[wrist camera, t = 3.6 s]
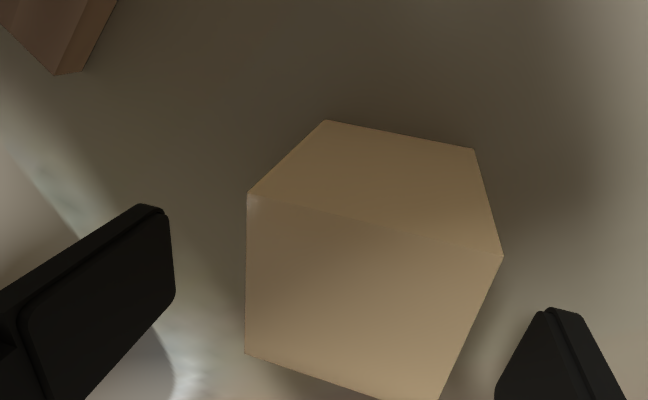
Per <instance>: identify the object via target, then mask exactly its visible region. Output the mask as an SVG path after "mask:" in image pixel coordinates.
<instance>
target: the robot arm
mask: <svg viewBox="0 0 648 400" xmlns="http://www.w3.org/2000/svg"><path fill="white" fill-rule="evenodd" d="M175 293H176V287H175V277H174V267H173V257H172V246H171V236H170V226H169V219H168V217H167V216H166V215H165V213H164V211H163V210H162V209H161V208H158V207H154V206H150V205H146V204H142V203H139V204H137V205H135V206H133V207H132V208H130V209H128V210H127V211H125V212H124V213H122V214H120V215H119V216H117V217H116V218H114V219H113V220H111V221H109V222H108V223H106V224H105V225H103V226H102V227H100V228H98V229H97V230H95V231H94V232H92V233H90V234H89V235H87V236H86V237H84V238H83V239H81V240H79V241H78V242H77V243H75V244H73V245H72V246H70V247H68V248H67V249H65V250H64V251H62V252H61V253H59V254H57V255H56V256H54V257H53V258H51V259H49V260H48V261H46V262H45V263H43V264H42V265H40V266H38V267H37V268H35V269H34V270H32V271H30V272H29V273H27V274H26V275H24V276H23V277H21V278H19V279H18V280H16V281H15V282H13V283H11V284H10V285H8V286H7V287H5V288H4V289H2V290H0V400H85V398H86V397H87V396H88V395H89V394H90V393H91V392H92V391H93V390H94V388H95V387H96V386H97V385H98V384H99V383H100V382H101V381H102V380H103V378H104V377H105V376H106V375H107V374H108V373H109V372H110V371H111V370H112V369H113V367H114V366H115V365H116V364H117V363H118V362H119V361H120V360H121V358H122V357H123V356H124V355H125V354H126V353H127V352H128V351H129V350H130V349H131V347H132V346H133V345H134V344H135V343H136V342H137V341H138V339H140V337H141V336H142V335H143V334H144V333H145V332H146V331H147V330H148V329H149V327H150V326H151V325H152V324H153V323H154V322H155V321H156V320H157V319H158V317H159V316H160V315H161V314H162V313H163V312H164V311H165V310H166V309H167V307H168V306H169V305H170V304H171V303H172V301H173V299H174V297H175ZM494 400H627V399H626V398H625V396H624V394H623V392H622V390H621V388H620V386H619V384H618V383H617V381H616V379H615V377H614V375H613V373H612V371H611V369H610V368H609V366H608V364H607V362H606V360H605V358H604V356H603V355H602V353H601V351H600V349H599V347H598V345H597V343H596V341H595V340H594V338H593V336H592V334H591V332H590V330H589V328H588V326H587V325H586V323H585V321H584V319H583V318H582V316H581V315H579V314H577V313H573V312H569V311H565V310H561V309H557V308H554V307H549V308H547V309H546V310H545V311H544V312H543V311H538V312H537V313H536V314H535V316H534V317H533V319H532V321H531V323H530V325H529V326H528V328H527V330H526V332H525V334H524V335H523V337H522V339H521V341H520V343H519V344H518V346H517V348H516V350H515V352H514V353H513V355H512V357H511V359H510V361H509V363H508V364H507V366H506V368H505V370H504V372H503V373H502V375H501V377H500V379H499V381H498V382H497V384H496V387H495V392H494Z"/></svg>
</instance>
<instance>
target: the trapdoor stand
mask: <svg viewBox="0 0 648 400" xmlns="http://www.w3.org/2000/svg"><path fill="white" fill-rule="evenodd" d="M116 2H117V0H0V24H1V25H2V26H3V27H4V28H5V29H7V30H8V31H9V32H10V33H11V34H12V35H13V36H14V37H15V38H16V39H17V40H18V41H19V42H20V43H21V44H22V45H23V46H24V47H25V48H26V49H27V50H28V51H29V52H30V53H31V54H32V55H33V56H34V57H35V58H36V59H37V60H38V61H39V62H40V63H41V64H42V65H43V66H44V67H45V68H46V69H47V70H48V71H49V72H50V73H51V74H52V75H53V76H56V75H62V74H68V73H74V72H81V71H82V69H83V67H84V65H85V63H86V61H87V59H88V57H89V55H90V53H91V52H92V50H93V48H94V46H95V44H96V42H97V40H98V38H99V36H100V34H101V32H102V30H103V28H104V26H105V24H106V22H107V20H108V18H109V16H110V14H111V12H112V10H113V8H114V6H115V4H116Z"/></svg>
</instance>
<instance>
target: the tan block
mask: <svg viewBox="0 0 648 400" xmlns="http://www.w3.org/2000/svg"><path fill="white" fill-rule="evenodd" d="M503 258H504V254H503V251H502V247H501V244H500V240H499V237H498V233H497V230H496V226H495V222H494V219H493V215H492V212H491V208H490V205H489V201H488V198H487V194H486V191H485V187H484V183H483V180H482V176H481V173H480V169H479V166H478V162H477V159H476V155H475V152H474V149H471V148H466V147H461V146H456V145H451V144H446V143H441V142H436V141H431V140H426V139H421V138H416V137H411V136H406V135H401V134H396V133H391V132H386V131H381V130H376V129H371V128H366V127H361V126H356V125H351V124H346V123H341V122H336V121H331V120H326V119H325V120H323V121H322V122H321V123H320V124H319V125H318V126H317V127H316V128H315V129H314V130H313V131H312V132H311V133H310V134H309V135H308V136H306V137H305V138H304V139H303V140H302V141H301V142H300V143H299V144H298V145H297V146H296V147H295V148H294V149H293V150H292V151H291V152H289V153H288V154H287V155H286V156H285V157H284V158H283V159H282V160H281V161H280V162H279V163H278V164H277V165H276V166H275V167H274V168H272V169H271V170H270V171H269V172H268V173H267V174H266V175H265V176H264V177H263V178H262V179H261V180H260V181H259V182H258V183H257V184H255V185H254V186H253V187H252V188H251V189H250V190H249V191H248V192H247V221H246V286H245V351H244V354H247V355H250V356H253V357H256V358H259V359H262V360H265V361H268V362H271V363H274V364H277V365H280V366H283V367H285V368H288V369H291V370H294V371H297V372H300V373H303V374H306V375H309V376H312V377H315V378H318V379H321V380H324V381H327V382H330V383H333V384H336V385H339V386H342V387H345V388H348V389H351V390H354V391H357V392H360V393H363V394H365V395H368V396H371V397H374V398H377V399H380V400H438V398H439V396H440V394H441V392H442V390H443V388H444V385H445V383H446V381H447V379H448V377H449V375H450V372H451V370H452V368H453V366H454V364H455V362H456V359H457V357H458V355H459V353H460V351H461V349H462V346H463V344H464V342H465V340H466V338H467V336H468V333H469V331H470V329H471V327H472V325H473V323H474V321H475V318H476V316H477V314H478V312H479V310H480V308H481V305H482V303H483V301H484V299H485V297H486V295H487V292H488V290H489V288H490V286H491V284H492V282H493V279H494V277H495V275H496V273H497V271H498V269H499V266H500V264H501V262H502V260H503Z"/></svg>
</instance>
